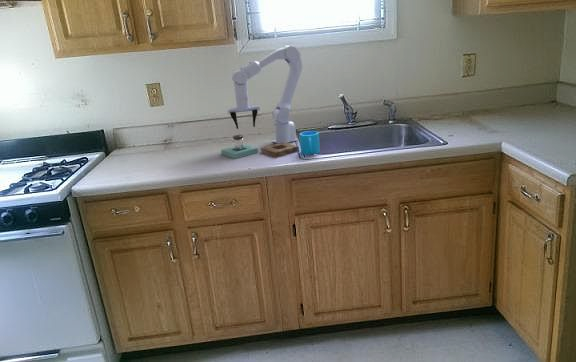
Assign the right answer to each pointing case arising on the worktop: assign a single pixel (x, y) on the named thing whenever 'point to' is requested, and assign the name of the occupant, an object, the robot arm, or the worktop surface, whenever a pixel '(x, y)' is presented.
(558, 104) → the worktop surface
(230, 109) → the robot arm
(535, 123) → the worktop surface
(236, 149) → the lock pin
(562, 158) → the worktop surface
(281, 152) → the mount board
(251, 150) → the socket board
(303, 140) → the mug
